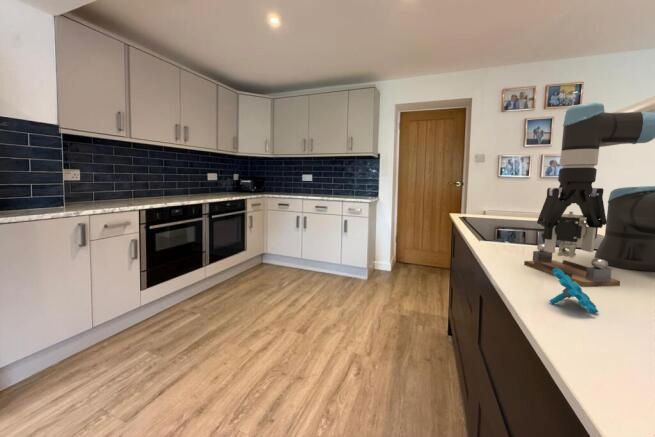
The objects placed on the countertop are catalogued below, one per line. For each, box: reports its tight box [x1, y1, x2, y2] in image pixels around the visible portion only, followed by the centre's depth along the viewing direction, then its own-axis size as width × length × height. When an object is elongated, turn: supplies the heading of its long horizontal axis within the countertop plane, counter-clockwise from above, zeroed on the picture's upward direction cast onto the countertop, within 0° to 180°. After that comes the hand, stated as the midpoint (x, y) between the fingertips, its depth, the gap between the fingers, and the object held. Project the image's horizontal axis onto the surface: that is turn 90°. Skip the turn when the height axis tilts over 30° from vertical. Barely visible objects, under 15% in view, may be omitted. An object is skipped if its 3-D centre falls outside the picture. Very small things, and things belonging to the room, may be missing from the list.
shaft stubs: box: [532, 243, 613, 282], centre depth 81 cm, size 4×19×5 cm, turn 5°
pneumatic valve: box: [554, 211, 588, 259], centre depth 80 cm, size 6×12×12 cm, turn 133°
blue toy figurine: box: [549, 268, 599, 315], centre depth 61 cm, size 11×6×10 cm
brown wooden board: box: [523, 259, 621, 288], centre depth 81 cm, size 10×19×2 cm, turn 5°
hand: (568, 251), depth 81 cm, fingers closed on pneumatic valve, 10 cm apart
